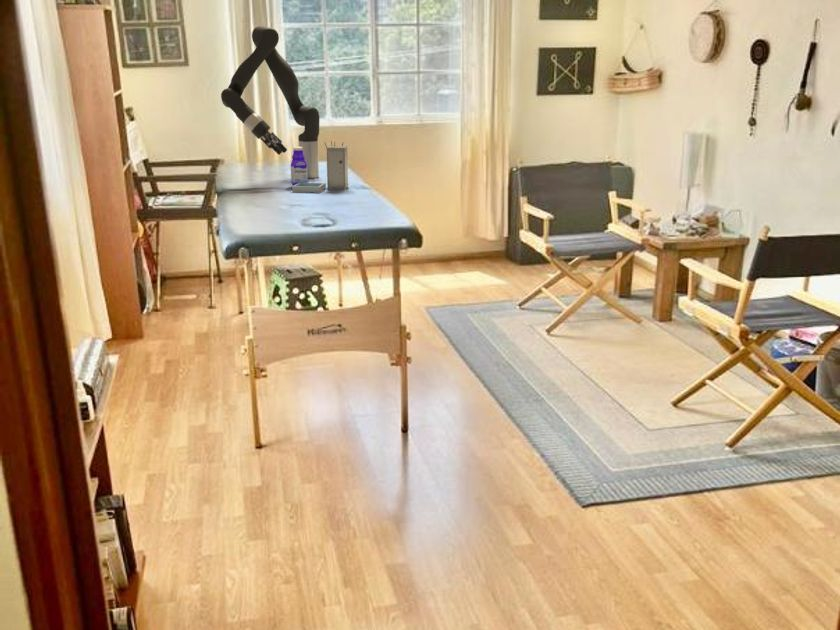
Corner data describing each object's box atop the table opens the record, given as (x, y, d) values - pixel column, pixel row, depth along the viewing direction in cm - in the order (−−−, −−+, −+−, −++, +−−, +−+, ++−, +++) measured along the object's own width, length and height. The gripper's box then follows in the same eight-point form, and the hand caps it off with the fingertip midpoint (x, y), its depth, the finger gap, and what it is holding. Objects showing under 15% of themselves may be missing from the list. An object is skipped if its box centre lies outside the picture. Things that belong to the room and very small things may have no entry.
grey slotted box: (330, 187, 361) (329, 146, 356) (348, 187, 360) (347, 146, 355) (327, 189, 354) (326, 147, 349) (345, 189, 353) (344, 148, 348)
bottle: (294, 187, 358) (292, 148, 353) (289, 186, 363) (288, 146, 358) (309, 186, 361) (308, 147, 356) (305, 185, 366) (303, 146, 361)
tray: (299, 188, 357) (298, 182, 356) (325, 188, 356) (325, 183, 355) (292, 192, 346) (292, 186, 345) (319, 192, 345) (319, 187, 344)
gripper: (257, 120, 348) (284, 148, 350) (266, 118, 362) (292, 145, 364) (246, 132, 350) (273, 160, 352) (256, 130, 364) (281, 156, 366)
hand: (283, 152), depth 358 cm, fingers open, 8 cm apart
